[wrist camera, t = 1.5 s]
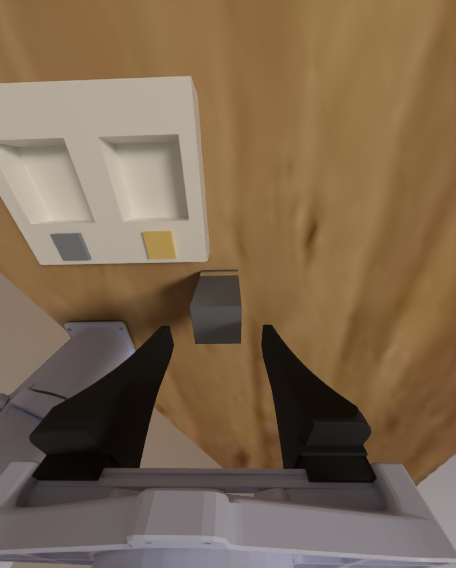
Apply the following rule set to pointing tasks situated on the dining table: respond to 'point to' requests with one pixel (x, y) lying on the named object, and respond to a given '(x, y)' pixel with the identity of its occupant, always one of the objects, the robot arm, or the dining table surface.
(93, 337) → the robot arm
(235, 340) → the plug
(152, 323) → the dining table surface
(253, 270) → the dining table surface
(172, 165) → the sorting tray
